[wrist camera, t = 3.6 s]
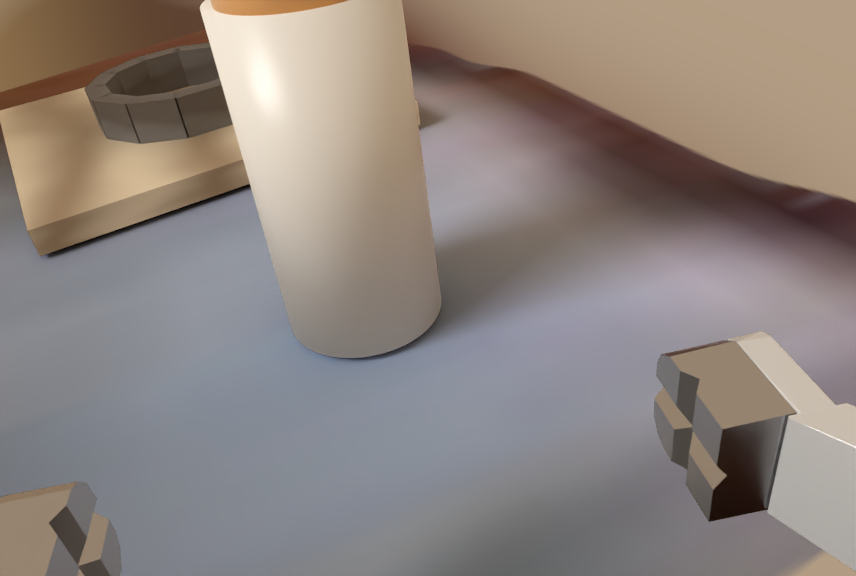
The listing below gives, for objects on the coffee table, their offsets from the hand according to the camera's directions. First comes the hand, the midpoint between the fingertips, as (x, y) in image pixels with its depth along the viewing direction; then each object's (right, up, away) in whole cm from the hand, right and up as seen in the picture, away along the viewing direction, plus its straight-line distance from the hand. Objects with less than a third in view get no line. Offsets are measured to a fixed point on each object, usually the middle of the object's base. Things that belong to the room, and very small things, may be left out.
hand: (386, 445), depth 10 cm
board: (-12, +11, +29) cm, 33 cm away
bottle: (-1, +2, +14) cm, 14 cm away
